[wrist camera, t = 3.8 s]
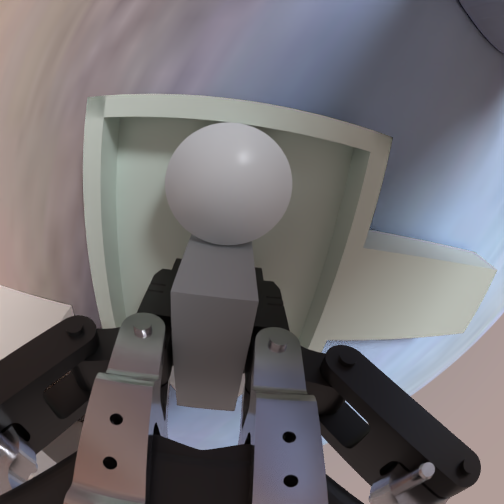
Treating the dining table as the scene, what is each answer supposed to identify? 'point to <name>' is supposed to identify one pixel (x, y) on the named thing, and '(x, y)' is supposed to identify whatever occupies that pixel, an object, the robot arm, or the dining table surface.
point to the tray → (295, 246)
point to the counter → (22, 331)
